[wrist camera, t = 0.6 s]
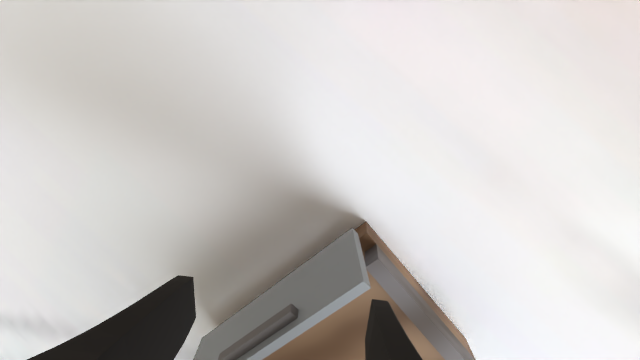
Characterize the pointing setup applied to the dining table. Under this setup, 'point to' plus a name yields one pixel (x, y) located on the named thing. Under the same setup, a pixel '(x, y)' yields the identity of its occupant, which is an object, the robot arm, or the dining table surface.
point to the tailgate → (291, 304)
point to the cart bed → (351, 320)
